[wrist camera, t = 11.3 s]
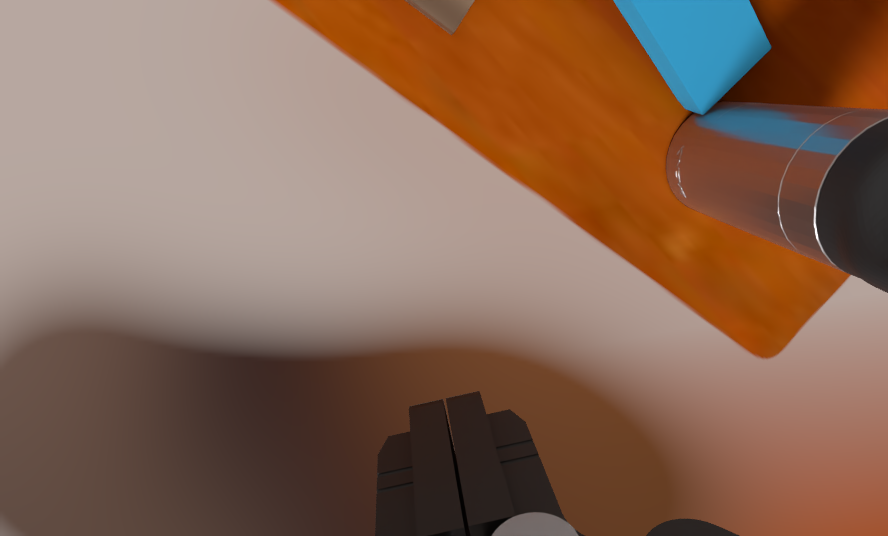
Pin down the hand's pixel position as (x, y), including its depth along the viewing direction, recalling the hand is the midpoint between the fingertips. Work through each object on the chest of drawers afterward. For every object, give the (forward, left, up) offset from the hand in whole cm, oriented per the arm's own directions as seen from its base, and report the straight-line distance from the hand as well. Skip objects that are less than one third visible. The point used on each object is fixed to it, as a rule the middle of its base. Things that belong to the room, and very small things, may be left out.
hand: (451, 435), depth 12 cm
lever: (-21, -10, -36) cm, 43 cm away
